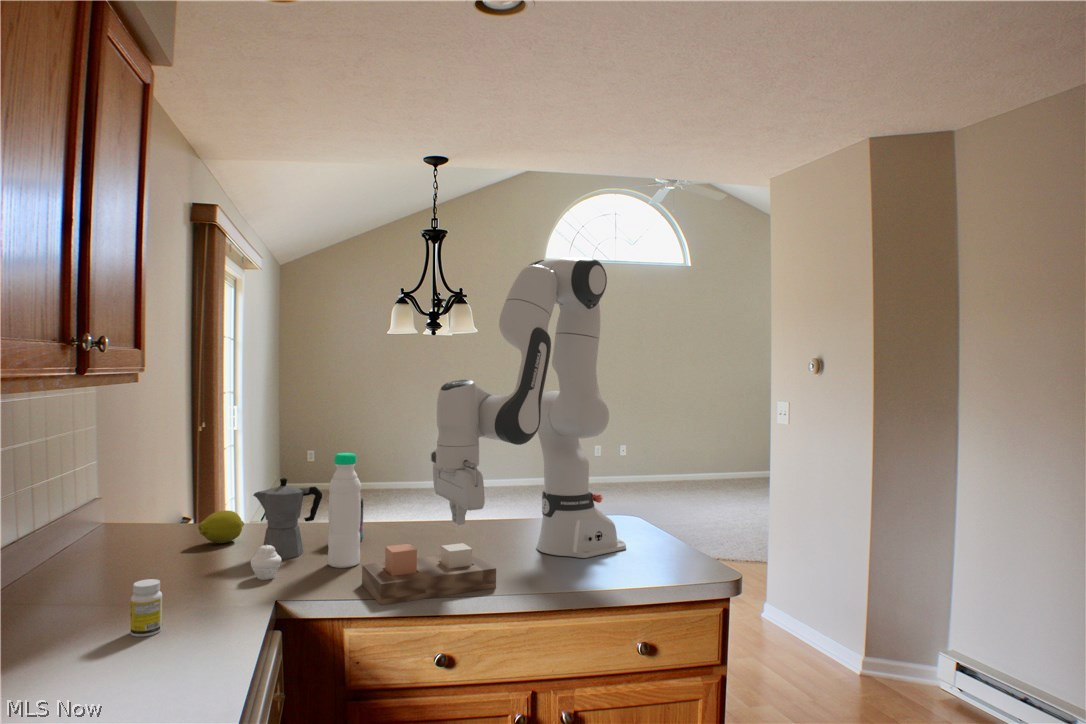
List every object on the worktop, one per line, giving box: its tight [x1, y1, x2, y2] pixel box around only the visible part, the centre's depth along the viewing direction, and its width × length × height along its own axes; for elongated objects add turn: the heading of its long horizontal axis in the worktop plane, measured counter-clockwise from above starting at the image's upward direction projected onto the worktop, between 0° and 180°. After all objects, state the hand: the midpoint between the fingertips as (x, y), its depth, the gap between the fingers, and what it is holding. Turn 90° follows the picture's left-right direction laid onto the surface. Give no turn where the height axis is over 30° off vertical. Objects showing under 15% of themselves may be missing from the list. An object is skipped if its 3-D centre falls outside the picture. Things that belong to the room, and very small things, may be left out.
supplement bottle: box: [130, 578, 163, 638], centre depth 123 cm, size 5×5×8 cm
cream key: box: [440, 542, 473, 569], centre depth 152 cm, size 5×5×5 cm
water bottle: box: [327, 452, 362, 569], centre depth 164 cm, size 7×7×25 cm
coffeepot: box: [252, 477, 323, 560], centre depth 172 cm, size 15×9×18 cm, turn 113°
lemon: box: [198, 510, 245, 544], centre depth 180 cm, size 11×8×8 cm
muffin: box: [250, 545, 283, 581], centre depth 153 cm, size 6×6×7 cm
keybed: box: [361, 552, 497, 606], centre depth 149 cm, size 24×14×4 cm, turn 118°
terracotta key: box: [384, 543, 418, 576], centre depth 147 cm, size 5×5×5 cm
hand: (458, 523), depth 153 cm, fingers closed
